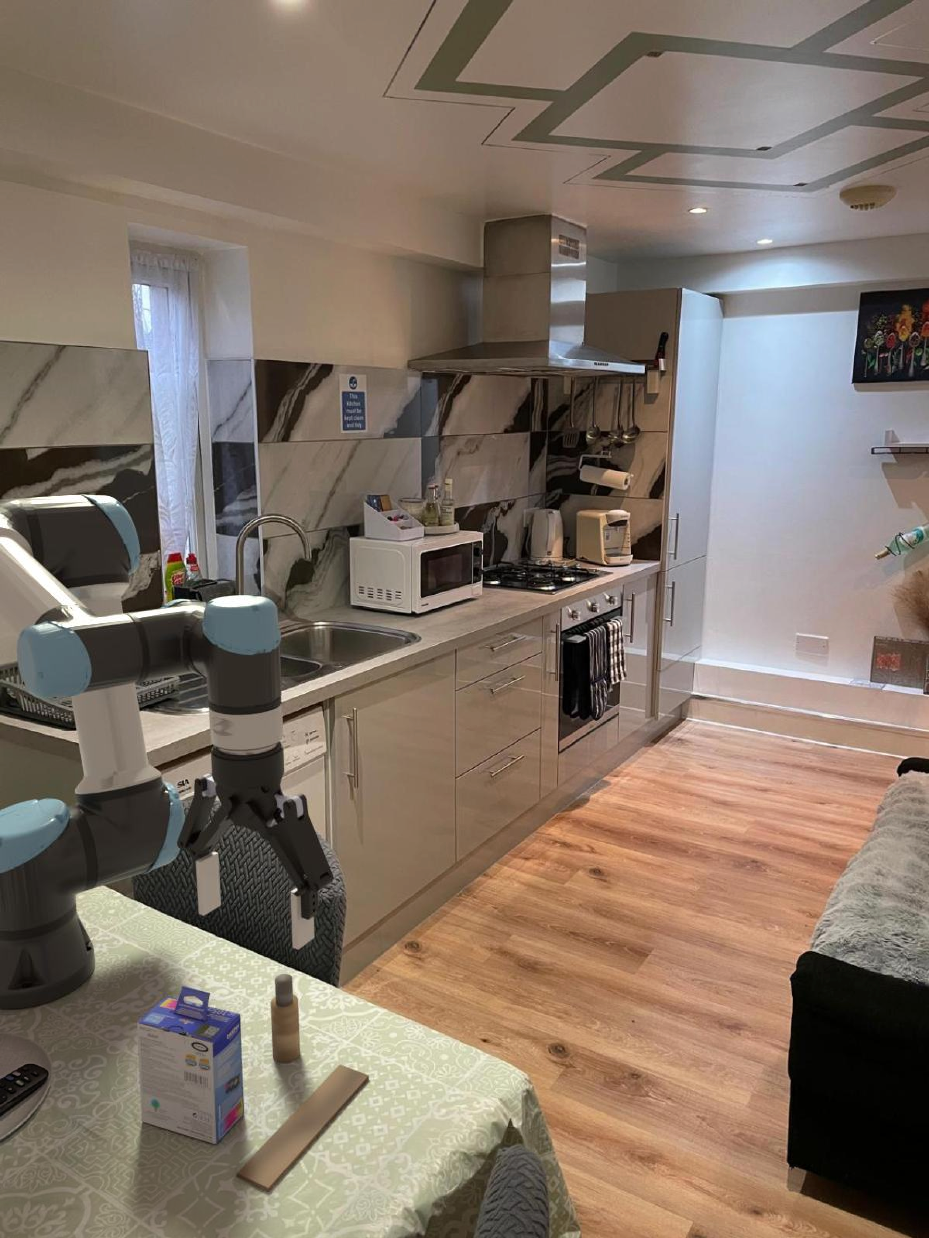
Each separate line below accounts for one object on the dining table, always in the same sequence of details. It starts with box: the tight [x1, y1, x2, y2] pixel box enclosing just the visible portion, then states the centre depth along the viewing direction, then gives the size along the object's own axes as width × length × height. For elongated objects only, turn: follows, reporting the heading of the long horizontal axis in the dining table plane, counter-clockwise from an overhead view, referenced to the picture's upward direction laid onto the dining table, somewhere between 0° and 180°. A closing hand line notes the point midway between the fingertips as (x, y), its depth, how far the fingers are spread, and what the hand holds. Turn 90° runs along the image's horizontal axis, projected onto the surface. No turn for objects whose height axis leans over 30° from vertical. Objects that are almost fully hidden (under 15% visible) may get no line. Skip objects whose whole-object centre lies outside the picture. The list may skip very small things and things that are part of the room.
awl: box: [270, 973, 301, 1064], centre depth 109 cm, size 3×3×10 cm
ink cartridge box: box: [136, 985, 245, 1145], centre depth 99 cm, size 10×6×14 cm, turn 70°
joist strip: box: [236, 1064, 370, 1192], centre depth 99 cm, size 4×18×1 cm, turn 153°
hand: (255, 925), depth 102 cm, fingers open, 13 cm apart
